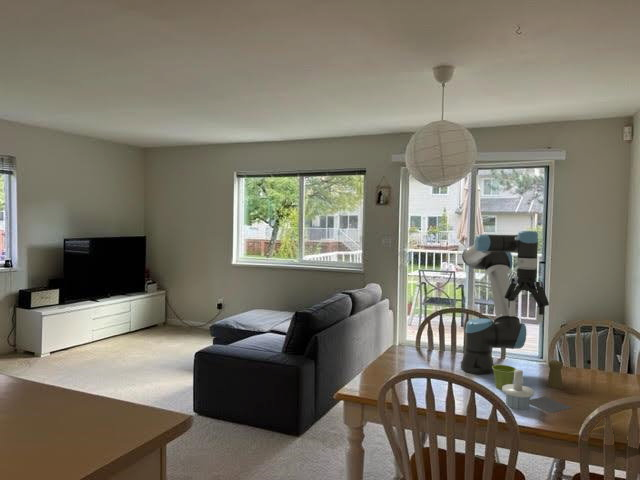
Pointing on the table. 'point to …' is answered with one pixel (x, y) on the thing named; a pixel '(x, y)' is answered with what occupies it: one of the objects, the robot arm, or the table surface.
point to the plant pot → (503, 375)
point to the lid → (518, 386)
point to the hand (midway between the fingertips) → (525, 319)
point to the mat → (548, 404)
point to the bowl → (518, 402)
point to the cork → (555, 374)
